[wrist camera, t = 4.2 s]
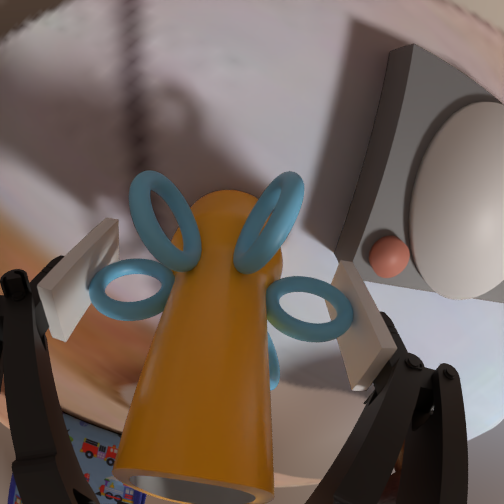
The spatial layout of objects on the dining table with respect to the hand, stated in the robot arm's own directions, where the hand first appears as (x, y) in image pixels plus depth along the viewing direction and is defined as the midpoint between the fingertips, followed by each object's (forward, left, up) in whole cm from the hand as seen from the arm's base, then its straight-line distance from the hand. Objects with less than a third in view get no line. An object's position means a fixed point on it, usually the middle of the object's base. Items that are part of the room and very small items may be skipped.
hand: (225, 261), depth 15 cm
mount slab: (+16, +7, -3) cm, 18 cm away
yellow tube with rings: (0, 0, -4) cm, 4 cm away
